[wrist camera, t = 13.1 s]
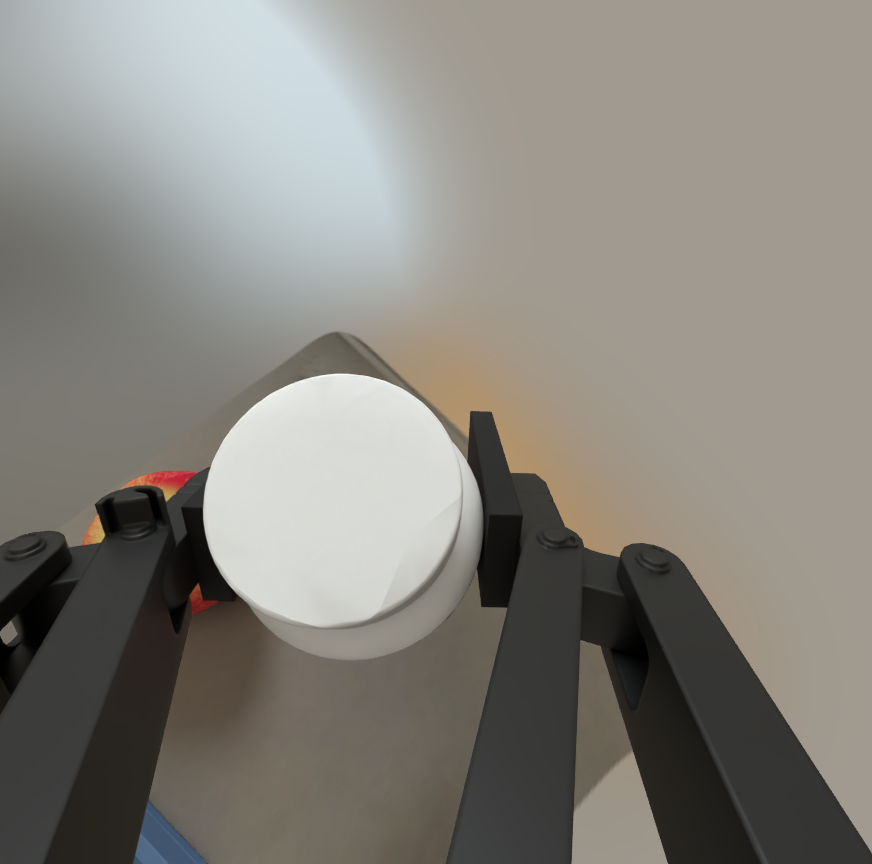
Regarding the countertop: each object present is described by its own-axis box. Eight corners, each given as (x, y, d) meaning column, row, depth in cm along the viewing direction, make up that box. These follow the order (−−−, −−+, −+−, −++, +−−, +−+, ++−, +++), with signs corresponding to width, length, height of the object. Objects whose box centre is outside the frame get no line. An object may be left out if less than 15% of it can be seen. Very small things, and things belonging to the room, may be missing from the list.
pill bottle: (332, 471, 19) (224, 318, 9) (471, 493, 19) (520, 361, 9) (293, 624, 17) (93, 647, 7) (450, 651, 17) (484, 717, 7)
